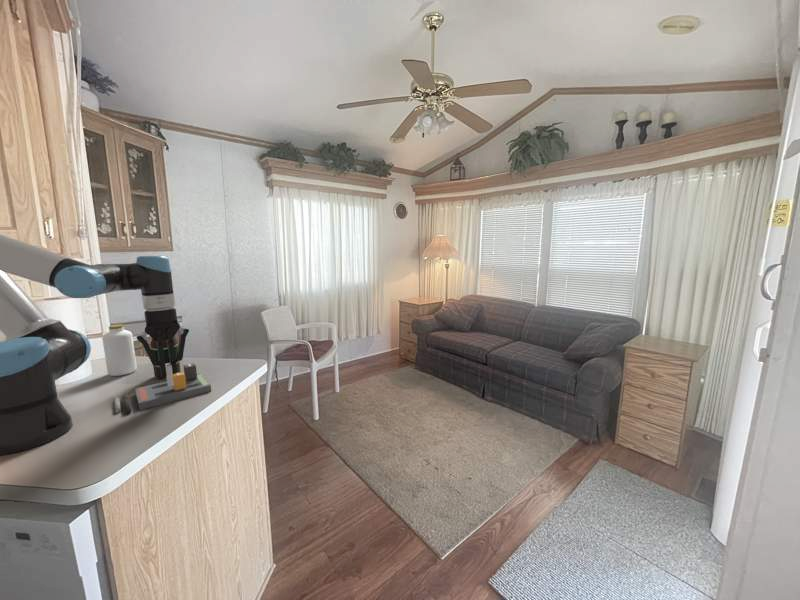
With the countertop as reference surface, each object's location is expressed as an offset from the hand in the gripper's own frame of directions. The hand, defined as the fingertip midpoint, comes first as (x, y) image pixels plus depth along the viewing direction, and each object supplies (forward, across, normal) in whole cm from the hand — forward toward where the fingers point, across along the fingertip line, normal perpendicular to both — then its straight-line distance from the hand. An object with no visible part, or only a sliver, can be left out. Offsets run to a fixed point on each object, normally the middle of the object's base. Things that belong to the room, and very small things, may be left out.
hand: (170, 385), depth 99 cm
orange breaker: (+2, +2, 0) cm, 3 cm away
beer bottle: (+4, +2, +24) cm, 24 cm away
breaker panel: (+4, +1, +4) cm, 6 cm away
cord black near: (+4, -11, +2) cm, 11 cm away
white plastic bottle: (+4, -10, +39) cm, 40 cm away
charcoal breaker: (+2, +6, +7) cm, 10 cm away
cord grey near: (+4, -13, +4) cm, 14 cm away
